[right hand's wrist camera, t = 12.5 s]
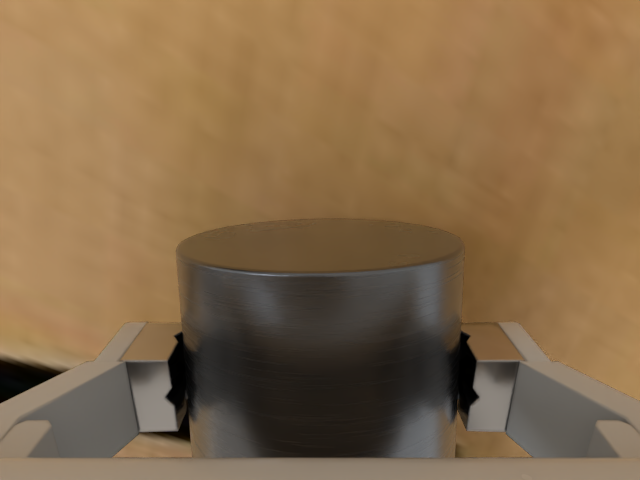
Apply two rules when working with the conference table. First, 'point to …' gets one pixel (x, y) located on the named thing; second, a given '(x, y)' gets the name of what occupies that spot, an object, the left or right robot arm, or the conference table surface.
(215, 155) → the conference table surface
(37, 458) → the right robot arm
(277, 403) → the rod
